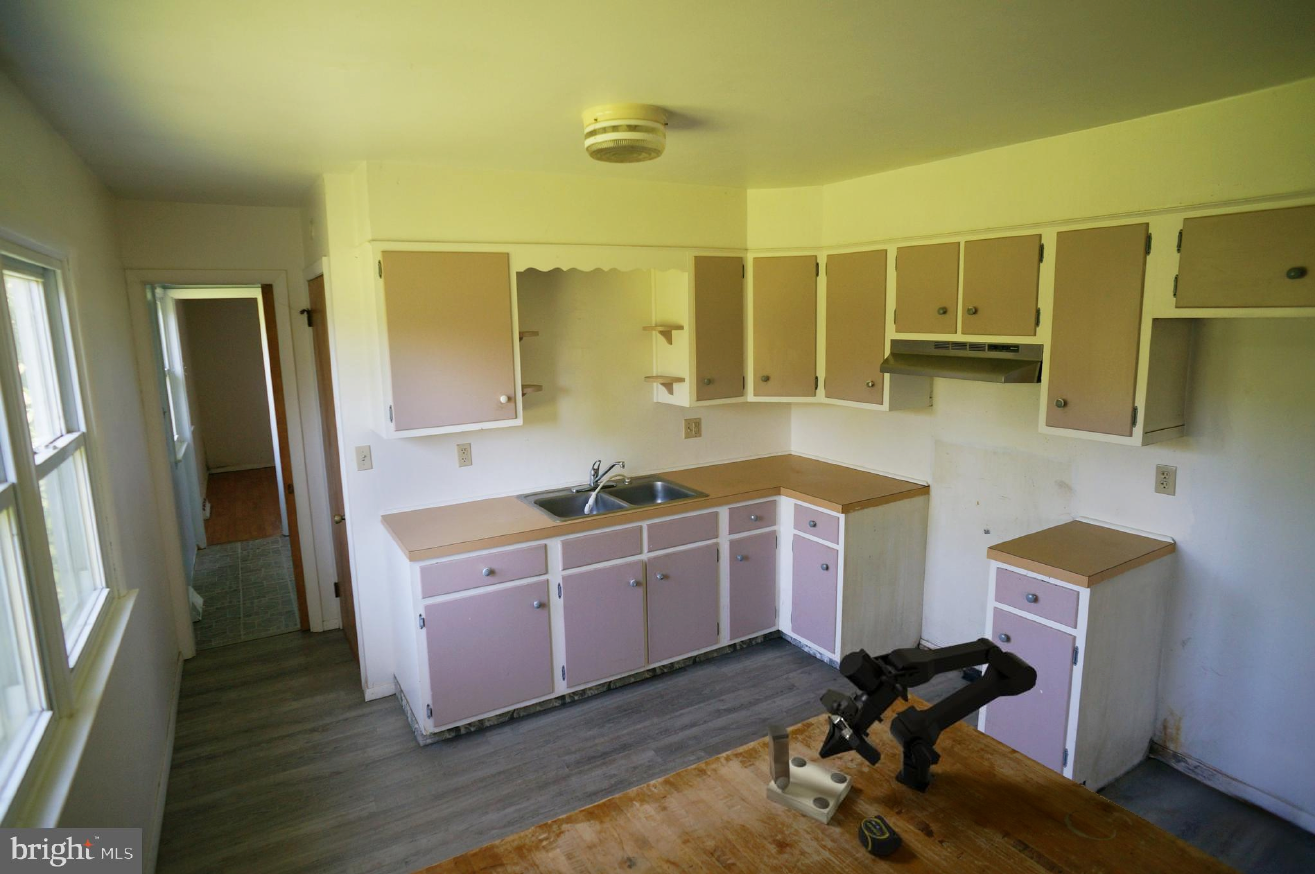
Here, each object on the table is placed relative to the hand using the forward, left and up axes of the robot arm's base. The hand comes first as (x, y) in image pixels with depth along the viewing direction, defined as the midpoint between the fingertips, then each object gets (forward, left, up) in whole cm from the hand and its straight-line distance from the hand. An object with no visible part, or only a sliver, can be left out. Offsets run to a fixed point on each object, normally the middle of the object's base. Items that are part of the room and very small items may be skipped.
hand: (820, 756), depth 144 cm
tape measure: (+5, +15, -8) cm, 18 cm away
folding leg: (+7, -5, -5) cm, 10 cm away
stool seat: (+2, -1, -8) cm, 8 cm away
